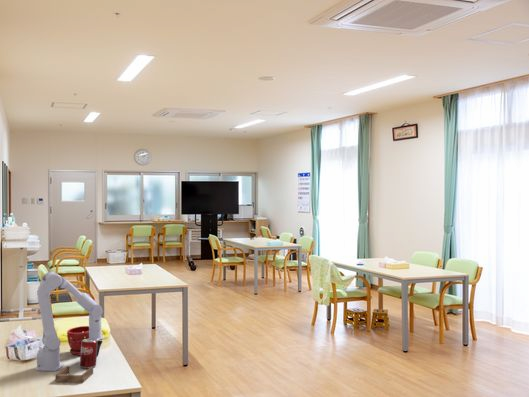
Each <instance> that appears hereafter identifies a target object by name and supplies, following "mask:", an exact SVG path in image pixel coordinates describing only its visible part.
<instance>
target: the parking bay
mask: <svg viewBox="0 0 529 397" xmlns="http://www.w3.org/2000/svg"><path fill="white" fill-rule="evenodd" d="M67 374H68V375H67ZM93 374H94V367H90V368H87V370H86V371H84V373H82V374H70V366H66V367H64V368H63V369H62V370H61V371H59V372H58V373H57V374H55V383H69V384H70V383H71V384H72V383H73V384H77V383H78V384H83V383H85V382H86V381H87V380H88V379H89V378H90V377H91V376H93Z"/></svg>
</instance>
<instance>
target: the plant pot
mask: <svg viewBox="0 0 529 397" xmlns="http://www.w3.org/2000/svg"><path fill="white" fill-rule="evenodd" d="M66 334H67V335H66V336H67V343H68V345H69V348H70V349H69V352H70V354H72V355H75V356H80V354H81V342H82V340H84V339H89V325H84V326H83V325H82V326H76V327H71V328H69V329H68V330H67V331H66Z"/></svg>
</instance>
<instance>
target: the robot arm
mask: <svg viewBox="0 0 529 397" xmlns="http://www.w3.org/2000/svg"><path fill="white" fill-rule="evenodd" d="M40 281H41V282H40V284H39V286H38V288H37V290H36V295H37V300H38V306H39V312H40V317H41V318H40V319H41V323H42V329H43V331H42V338H41V342H42V344H43V345H44V346H43V348H40V349H39V350H37V353H36V369H35V370H36V371H41V372H42V371H45V372H56V371H58V370H59V369H61V368H62V367H63V366H64V363H63V364H62V363H61V356H60V355H61V354H60V352H61V350H60V348H61V347H60V346H61V339H60V337H58V333H57V330H56V328H55V322H54V316H53V310H52V304H51V300H50V295H51V294H52V292H53V291H55V289H57V288H60V289H64V290H66V291H67V292H68V293H70V295H72V296H73V297H75V301H76V303H77V304H78V305H80V307H82V309H84V311H87V313H88V326H89V339H96V340H97V341H98V345H97V357H99V354H100V350H101V349H100V348H101V346H102V344H103V340H104V339H105V337H104V333H102V315H103V313H104V310H103V307H102V306H101V305H100V304H98V301H97V300H96V299H93V298H92V297H91V295H90V293H86V292H81V291H80V290H79V289H78V288H77V287H75V286H74V285H73V284H72V283H71V282H70V281H69V280H67V279H66V278H64V277H62V276H61V275H59V274H58V273H56V272H55V271H53V270H51V271H47V272H46V273H45V275H43V276H42V278H41V280H40Z"/></svg>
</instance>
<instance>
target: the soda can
mask: <svg viewBox="0 0 529 397" xmlns="http://www.w3.org/2000/svg"><path fill="white" fill-rule="evenodd" d="M97 345H98V341H97V340H96V339H84V340H82V342H81V354H80V355H79V356H80V358H79V367H80V368H83V369H89V368H90V367H93V368H95V367H96V366H97Z"/></svg>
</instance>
